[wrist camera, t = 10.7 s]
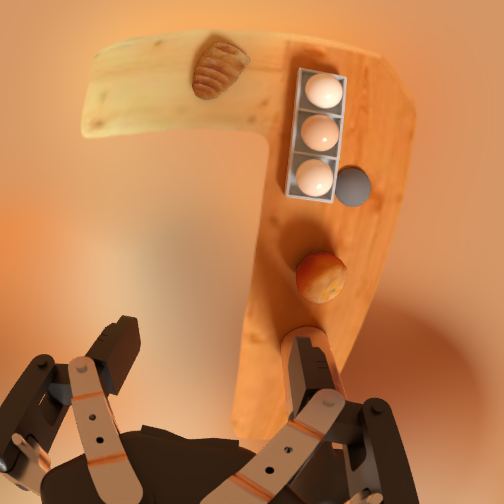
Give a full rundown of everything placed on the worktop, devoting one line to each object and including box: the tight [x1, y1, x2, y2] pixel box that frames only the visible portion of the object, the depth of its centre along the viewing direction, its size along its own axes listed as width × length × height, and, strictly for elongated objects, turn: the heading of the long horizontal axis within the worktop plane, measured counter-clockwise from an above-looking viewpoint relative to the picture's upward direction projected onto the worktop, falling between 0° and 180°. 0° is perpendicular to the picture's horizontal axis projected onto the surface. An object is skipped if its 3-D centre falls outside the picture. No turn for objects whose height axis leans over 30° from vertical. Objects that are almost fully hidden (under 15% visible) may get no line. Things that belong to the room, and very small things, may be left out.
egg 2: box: [296, 159, 333, 197], centre depth 36 cm, size 5×5×5 cm
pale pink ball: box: [301, 114, 339, 151], centre depth 34 cm, size 5×5×5 cm
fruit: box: [294, 250, 347, 304], centre depth 41 cm, size 8×8×8 cm
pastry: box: [192, 42, 250, 100], centre depth 32 cm, size 9×7×4 cm
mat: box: [335, 168, 371, 207], centre depth 39 cm, size 6×6×1 cm
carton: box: [284, 67, 347, 203], centre depth 36 cm, size 19×7×2 cm, turn 174°
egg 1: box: [305, 73, 343, 108], centre depth 31 cm, size 5×5×5 cm
